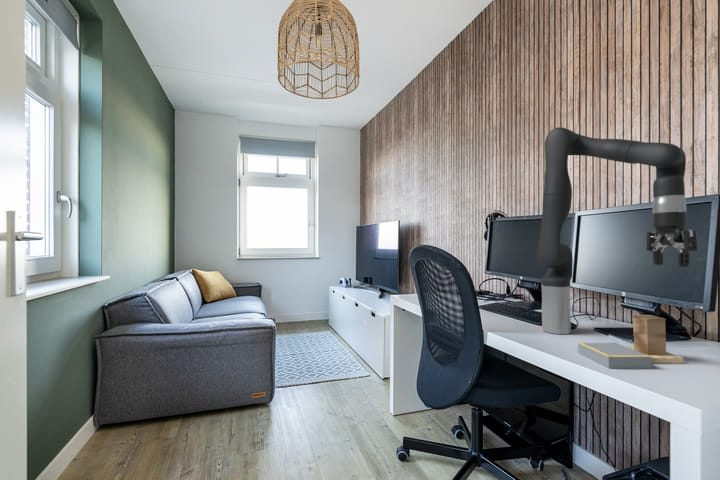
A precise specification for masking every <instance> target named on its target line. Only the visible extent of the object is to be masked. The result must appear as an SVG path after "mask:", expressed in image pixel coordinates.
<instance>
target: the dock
mask: <svg viewBox="0 0 720 480" xmlns="http://www.w3.org/2000/svg"><path fill="white" fill-rule="evenodd" d="M627 347H628V346H625V345H622V344H619V343H617V342H577V352H578V354H580V355H582V356H583V357H586V358H588V359H589V360H591V361H594V362H595V363H597V364H600V365H601V366H603V367H605V368H607V369H652V364H651V356H648V355H645V354H643V353H640V352H637V351H635V350H632V349H630V348H627Z"/></svg>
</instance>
